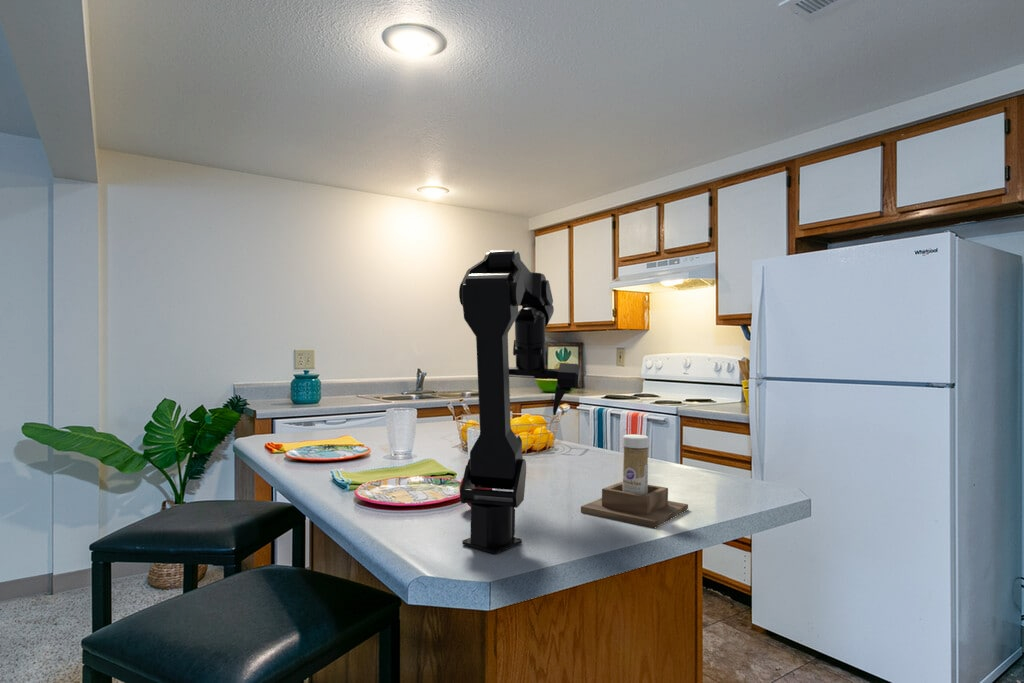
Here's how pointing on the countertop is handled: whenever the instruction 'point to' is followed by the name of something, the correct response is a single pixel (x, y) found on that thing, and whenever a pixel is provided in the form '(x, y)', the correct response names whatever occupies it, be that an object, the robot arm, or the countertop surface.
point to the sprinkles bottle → (635, 464)
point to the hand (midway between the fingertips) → (531, 412)
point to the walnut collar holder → (635, 506)
